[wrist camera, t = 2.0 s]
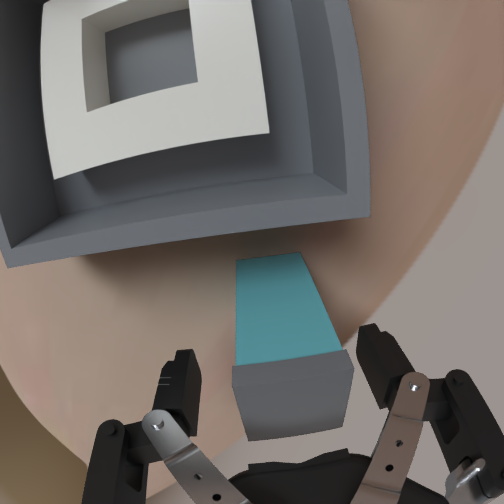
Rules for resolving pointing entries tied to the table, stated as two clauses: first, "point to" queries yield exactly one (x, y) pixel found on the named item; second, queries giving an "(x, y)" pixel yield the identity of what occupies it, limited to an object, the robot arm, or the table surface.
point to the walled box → (175, 121)
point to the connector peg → (286, 352)
